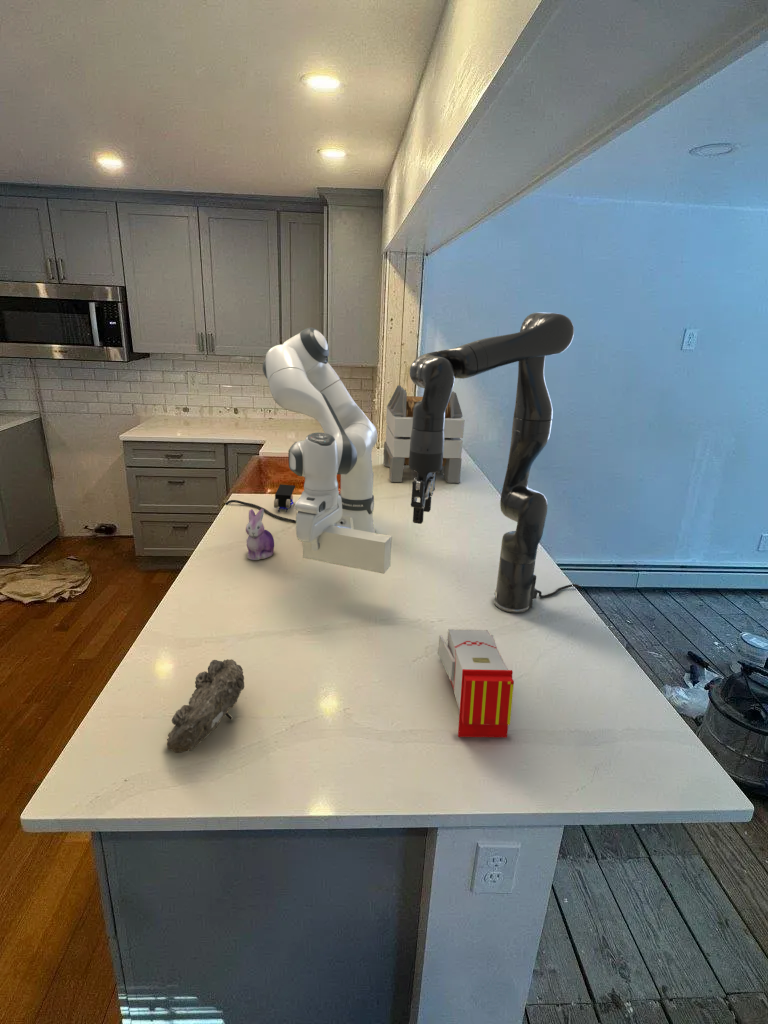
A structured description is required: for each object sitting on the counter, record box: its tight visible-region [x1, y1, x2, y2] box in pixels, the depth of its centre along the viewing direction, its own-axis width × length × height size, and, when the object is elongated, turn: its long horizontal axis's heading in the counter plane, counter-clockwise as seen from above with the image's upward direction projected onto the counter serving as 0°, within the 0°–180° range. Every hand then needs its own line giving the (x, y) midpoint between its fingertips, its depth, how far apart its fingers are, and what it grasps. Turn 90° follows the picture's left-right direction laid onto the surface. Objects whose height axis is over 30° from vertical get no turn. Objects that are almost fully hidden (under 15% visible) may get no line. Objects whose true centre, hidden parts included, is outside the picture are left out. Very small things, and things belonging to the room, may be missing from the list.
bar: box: [302, 525, 393, 575], centre depth 149 cm, size 23×5×9 cm, turn 70°
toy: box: [437, 628, 515, 738], centre depth 117 cm, size 12×13×30 cm
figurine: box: [245, 507, 275, 561], centre depth 176 cm, size 9×10×15 cm
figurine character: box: [273, 484, 296, 513], centre depth 219 cm, size 7×8×15 cm
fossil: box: [166, 658, 245, 754], centre depth 106 cm, size 22×10×15 cm
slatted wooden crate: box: [383, 384, 465, 484], centre depth 268 cm, size 34×33×41 cm
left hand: (320, 545), depth 152 cm, fingers closed on bar, 5 cm apart
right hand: (421, 516), depth 131 cm, fingers open, 8 cm apart
